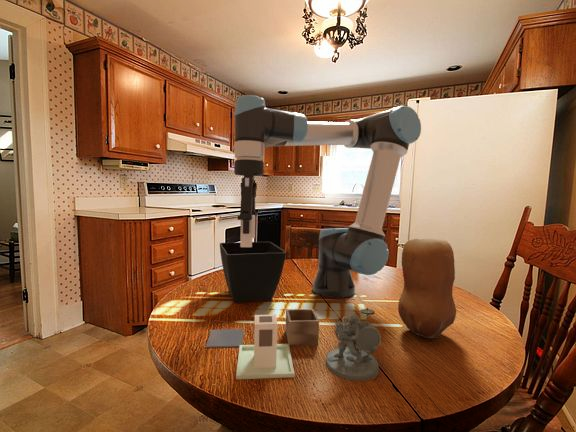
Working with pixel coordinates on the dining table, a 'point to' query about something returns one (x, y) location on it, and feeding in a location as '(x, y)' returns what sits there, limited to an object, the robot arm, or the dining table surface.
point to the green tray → (249, 372)
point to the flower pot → (252, 270)
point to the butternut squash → (427, 287)
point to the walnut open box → (302, 327)
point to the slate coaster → (225, 338)
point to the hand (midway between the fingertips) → (248, 242)
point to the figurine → (355, 349)
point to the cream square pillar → (265, 341)
